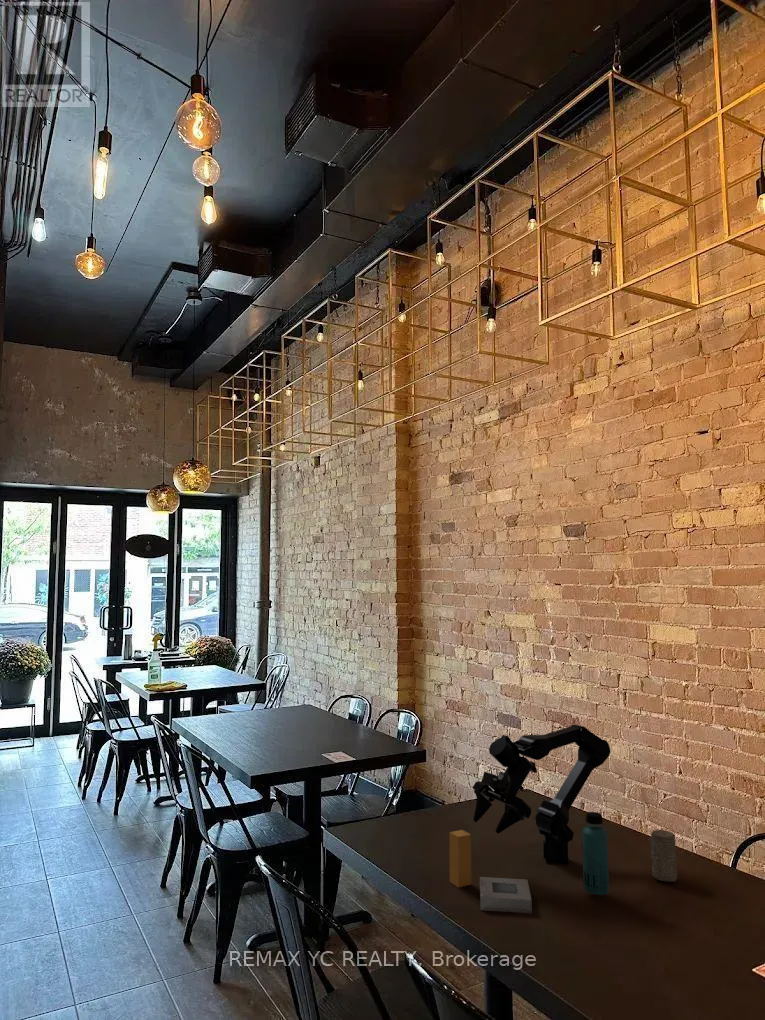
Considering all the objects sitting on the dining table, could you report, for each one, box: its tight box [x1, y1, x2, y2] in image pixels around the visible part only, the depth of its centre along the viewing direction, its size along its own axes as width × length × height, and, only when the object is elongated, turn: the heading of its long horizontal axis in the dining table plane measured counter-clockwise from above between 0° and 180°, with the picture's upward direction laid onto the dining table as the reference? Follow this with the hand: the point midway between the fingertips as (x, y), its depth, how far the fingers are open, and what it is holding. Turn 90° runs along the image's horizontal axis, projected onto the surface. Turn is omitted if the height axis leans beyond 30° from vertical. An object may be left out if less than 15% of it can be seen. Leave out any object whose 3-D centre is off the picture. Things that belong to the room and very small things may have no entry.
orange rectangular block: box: [449, 829, 472, 888], centre depth 183 cm, size 4×4×12 cm
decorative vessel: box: [650, 829, 678, 883], centre depth 186 cm, size 6×8×12 cm
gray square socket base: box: [479, 876, 533, 914], centre depth 172 cm, size 12×12×3 cm
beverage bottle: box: [581, 811, 610, 896], centre depth 176 cm, size 6×7×20 cm
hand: (485, 826), depth 188 cm, fingers open, 9 cm apart
